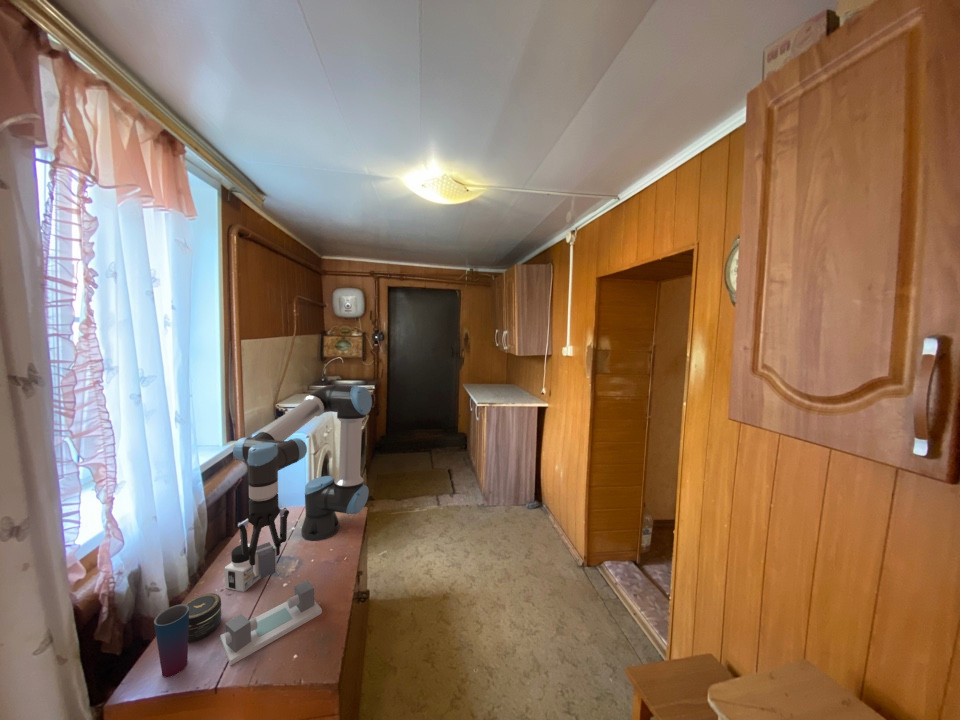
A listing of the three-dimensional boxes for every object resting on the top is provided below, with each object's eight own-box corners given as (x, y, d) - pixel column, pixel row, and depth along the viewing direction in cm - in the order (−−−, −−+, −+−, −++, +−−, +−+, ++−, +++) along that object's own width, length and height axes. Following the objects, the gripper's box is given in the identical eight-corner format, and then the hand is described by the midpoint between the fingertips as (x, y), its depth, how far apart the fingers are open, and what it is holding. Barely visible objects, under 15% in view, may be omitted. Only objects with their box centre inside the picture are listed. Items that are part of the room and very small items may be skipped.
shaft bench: (307, 594, 118) (307, 573, 117) (321, 613, 110) (321, 590, 110) (220, 640, 100) (219, 615, 100) (230, 665, 93) (229, 639, 92)
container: (244, 592, 118) (242, 556, 117) (224, 588, 120) (223, 552, 119) (262, 576, 126) (261, 542, 125) (244, 573, 127) (242, 539, 126)
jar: (225, 628, 104) (224, 604, 104) (182, 651, 97) (180, 625, 96) (217, 610, 111) (216, 587, 110) (175, 629, 103) (174, 605, 103)
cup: (196, 664, 93) (193, 611, 92) (163, 686, 87) (160, 630, 86) (185, 651, 97) (182, 600, 95) (152, 672, 91) (149, 617, 89)
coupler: (254, 569, 108) (254, 547, 107) (269, 563, 111) (269, 541, 110) (260, 579, 104) (259, 556, 103) (275, 572, 107) (275, 550, 106)
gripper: (290, 483, 114) (291, 552, 116) (226, 500, 102) (228, 577, 104) (298, 491, 109) (299, 563, 111) (232, 509, 97) (234, 590, 99)
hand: (265, 569), depth 107 cm, fingers closed on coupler, 4 cm apart
